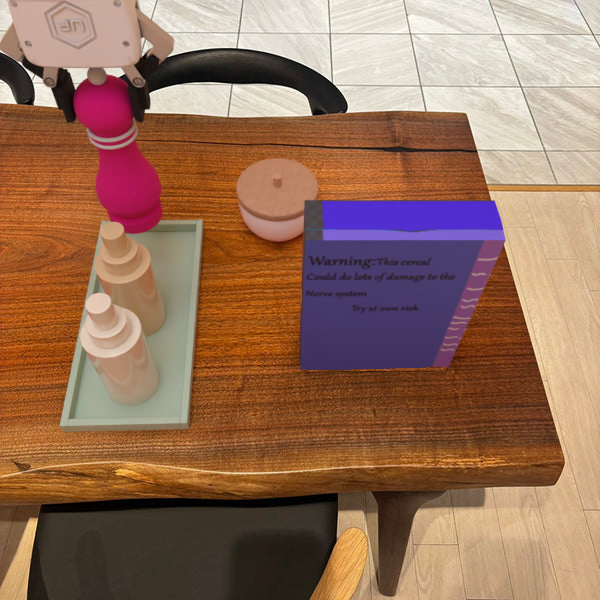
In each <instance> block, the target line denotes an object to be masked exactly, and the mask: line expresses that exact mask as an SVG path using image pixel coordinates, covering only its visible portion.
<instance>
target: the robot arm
mask: <svg viewBox="0 0 600 600" xmlns="http://www.w3.org/2000/svg"><path fill="white" fill-rule="evenodd" d="M6 1H7V6H8V10H9V13H10V17H11V21H12V22H11V24H10V25H9V27H8V28H7V29H6V31H5V33H4V34H3V36H2V38H1V40H0V51H1V52H2V53H3V54H5V55H7V56H9V57H10V58H11V59H13V60H14V61H16V62H18V63H21V65H22V66H23V68H25V70H27V71H29V72H30V73H32V74H34V75H35V76H37V77H38V78H40V79H41V80H42V83H43V84H44V86H46V87H47V88H49V89H50V90H51V93H52V95H53V98H54V101H55V104H56V107H57V109H58V110H59V111H62V112H63V115H64V118H65V121H66V123H67V124H68V123H69V124H71V123H72V124H73V123H74V122H76V119H77V116H76V114H75V111H74V106H73V97H74V93H75V90H76V87H75V84H74V81H73V78H72V75H71V72H69V71H68V69H89V68H103V69H117V68H118V69H119V68H121V70H122V71H123V73H124V74H125V76H126V77H127V78H128V80H129V81H128V93H129V97H130V101H131V105H132V109H133V114H134V118H135V121H136V123H144V120H145V115H146V113H145V112H146V110H151V104H152V103H151V102H152V101H151V95H150V90H149V85H148V81H147V80H148V79H149V78H150V77H151V76H152V75H153V74H154V72H156V71H157V70H158V68H159V66H160V65H161V63H162V62H164V61H165V60H166V59H167V58H168V57H169V56H170V55H171V54H172V53H173V52H174V48H175V39H174V37H173V36H172V35H171V34H170V33H168V32H167V31H166V30H165V29H163V28H162V27H161V26H160V25H158V23H156V22H155V21H154V20H152V19H151V18H150V17H148V15H146V14H145V13H144V12H143V11H141V6H140V2H139V0H6ZM142 39H145V40H146V41H147V42H149V44H151V45H152V47H150V48H149V49H148V50H147V51H146V52H145V53H144V54H143V55H142V50H143V49H142Z"/></svg>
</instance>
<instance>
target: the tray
mask: <svg viewBox="0 0 600 600" xmlns="http://www.w3.org/2000/svg"><path fill="white" fill-rule="evenodd" d="M109 222H111V221H110V220H101V222H100V226H99V227H100V228H99V231H98V237H97V241H96V246H95V252H94V255H93V260H92V265H91V271H90V275H89V281H88V286H87V289H86V290H87V291H86V295H85V299H84V303H83V304H84V305H83V310H82V315H81V319H80V324H79V328H78V332H77V333H78V334H77V339H76V344H75V349H74V353H73V359H72V363H71V367H70V374H69V378H68V381H67V388H66V393H65V397H64V402H63V406H62V407H63V408H62V410H61V411H62V412H61V417H60V422H59V427H60V429H61V431H62V432H64V433H72V432H73V433H74V432H109V431H110V432H111V431H113V432H114V431H151V430H153V431H155V430H189V429H190V423H191V422H190V421H191V408H192V394H193V393H192V392H193V379H194V369H195V368H194V367H195V355H196V340H197V325H198V313H199V298H200V285H201V272H202V259H203V258H202V257H203V246H204V233H205V232H204V231H205V226H204V220H203V219H161V220H160V222H159V223H158V224H157V225H156V226H155V227H154V228H152V229H151V230H148V231H146V232H143V233H139V234H129V233H126V236H128V237H131V238H132V239H134V240H135V241H136V242H138V243H140V244H142V245H143V246H144V247H146V248H147V250H148V251H149V253H150V256H151V260H152V263H153V267H154V270H155V274H156V278H157V281H158V285H159V288H160V292H161V295H162V299H163V302H164V306H165V309H166V320H165V322H164V324H163V326H162V327H161V328H160V329H159V330H158V331H157V332H156V333H154V334H152V335H150V336H147V337H146V340H147V343H148V346H149V348H150V351H151V354H152V357H153V360H154V363H155V365H156V368H157V371H158V374H159V385H158V388H157V390H156V392H155V393H154V395H153V396H152V397H151V398H150V399H149V400H147V401H146V402H144V403H142V404H139V405H136V406H122V405H119V404H117V403H115V402H114V401H113V400H111V398H110V397H109V396H108V394H107V392H106V390H105V388H104V386H103V384H102V382H101V380H100V379H99V377H98V375H97V373H96V371H95V369H94V367H93V365H92V363H91V362H90V360H89V358H88V356H87V354H86V352H85V350H84V348H83V346H82V344H81V341H80V332H81V329H82V326H83V325H84V323H85V320H86V318H87V316H88V312H87V310H86V308H85V303H86V300H87V299H88V298H89V297H90V296H91V295H93V294H96V293H104V291H103V288H102V286H101V283H100V281H99V278H98V276H97V274H96V271H95V266H94V264H95V260H96V257H97V255H98V254H99V250H100V247H101V245H102V244H103V240H102V238H101V235H100V229H101V227H102V226H103V225H105V224H106V223H109Z"/></svg>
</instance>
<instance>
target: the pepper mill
mask: <svg viewBox="0 0 600 600" xmlns="http://www.w3.org/2000/svg"><path fill="white" fill-rule="evenodd" d="M128 85H129V83H127V82H126V81H125V80H124V79H122V78H121V77H118V76H116V75H113V74H108V73H107V72H106V70H105V68H87V72H86V78H85V79H83V80H82V81H81V82H79V84H78V85H77V86H76V87H75V93H74V97H73V106H74V111H75V114H76V119H77V120H78V121H79V122H80V123H81V124H82V126H84V127H85V131H86V133H87V136H88V140H89V142H90V143H91V144H92V145H93V146H95V147H96V150H97V153H98V168H97V173H96V177H95V192H96V197H97V199H98V201H99V203H100V205H101V206H102V207H103V209H105V210H106V211H107V215H108V219H109V221H111V222H118V223H120V224H122V225H123V227H124V230H125V233H129V234H139V233H143V232H146V231H148V230H151V229H152V228H154V227H155V226H156V225H157V224H158V223H159V222H160V220H162V217H163V215H164V210H163V206H162V201H161V196H162V190H163V189H162V182H161V180H160V179H161V178H160V177H159V176H160V175H159V174H158V172H157V171H156V169H155V167H154V166H153V164H151V162H150V161H149V160H148V159H147V158H146V157H145V156H144V155H143V152H141V150H140V147H139V145H138V143H137V140H136V139H137V136H138V134H139V129H138V126H137V121H135V118H134V114H133V109H132V105H131V101H130V97H129V93H128Z"/></svg>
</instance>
